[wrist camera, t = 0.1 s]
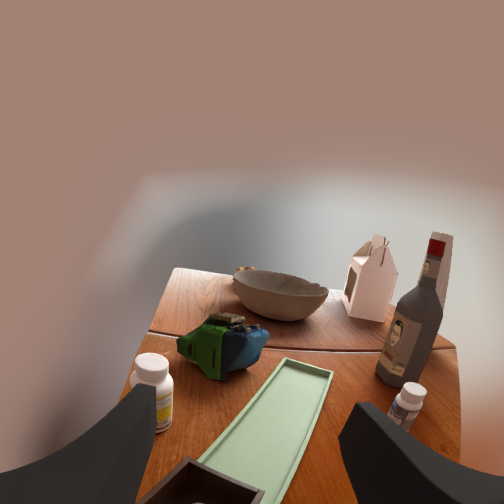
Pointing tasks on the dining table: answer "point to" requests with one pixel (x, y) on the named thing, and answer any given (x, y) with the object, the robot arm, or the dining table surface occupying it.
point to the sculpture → (223, 344)
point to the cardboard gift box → (370, 281)
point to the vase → (442, 266)
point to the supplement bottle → (156, 384)
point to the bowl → (278, 294)
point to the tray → (272, 430)
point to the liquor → (413, 326)
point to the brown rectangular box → (200, 487)
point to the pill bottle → (407, 405)
